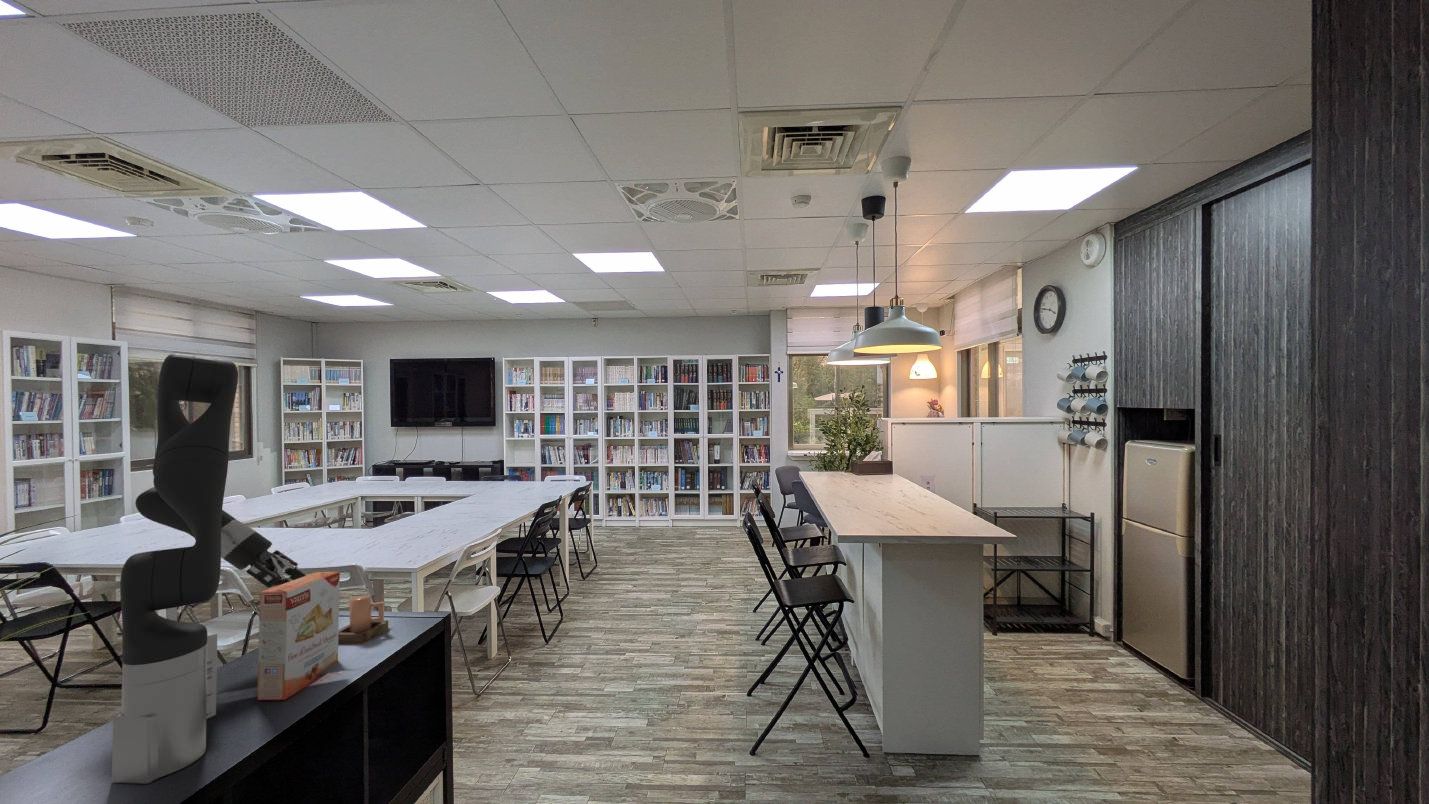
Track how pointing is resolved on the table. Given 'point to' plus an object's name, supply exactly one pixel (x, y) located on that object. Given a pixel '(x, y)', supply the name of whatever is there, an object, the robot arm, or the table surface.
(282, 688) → the cracker box
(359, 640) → the box
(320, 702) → the table surface
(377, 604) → the terracotta jug
